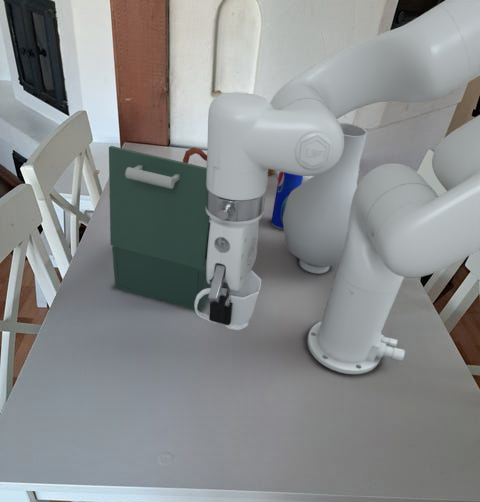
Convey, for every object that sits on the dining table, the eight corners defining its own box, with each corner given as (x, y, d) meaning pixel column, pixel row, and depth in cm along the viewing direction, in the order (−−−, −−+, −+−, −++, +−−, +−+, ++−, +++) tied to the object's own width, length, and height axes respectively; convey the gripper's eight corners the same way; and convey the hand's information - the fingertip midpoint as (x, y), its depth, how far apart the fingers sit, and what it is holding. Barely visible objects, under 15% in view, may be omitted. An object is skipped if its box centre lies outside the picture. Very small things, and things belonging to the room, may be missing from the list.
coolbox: (151, 245, 97) (150, 207, 92) (227, 265, 95) (231, 227, 89) (115, 287, 86) (111, 246, 80) (200, 311, 83) (203, 271, 78)
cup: (262, 334, 72) (267, 296, 66) (198, 341, 70) (197, 303, 65) (252, 302, 77) (256, 264, 71) (191, 308, 75) (191, 270, 69)
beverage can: (267, 225, 109) (277, 163, 99) (276, 217, 112) (287, 155, 102) (287, 233, 107) (299, 170, 97) (296, 223, 111) (308, 162, 101)
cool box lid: (111, 145, 71) (94, 152, 67) (215, 169, 68) (203, 178, 64) (112, 243, 80) (97, 255, 76) (204, 267, 78) (193, 281, 74)
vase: (263, 247, 102) (285, 113, 83) (329, 239, 107) (363, 112, 89) (296, 294, 90) (330, 150, 72) (368, 282, 96) (416, 147, 77)
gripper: (244, 240, 53) (234, 351, 65) (278, 178, 66) (264, 281, 78) (182, 226, 54) (183, 338, 66) (227, 168, 67) (221, 271, 79)
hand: (227, 306), depth 72 cm, fingers closed on cup, 6 cm apart
